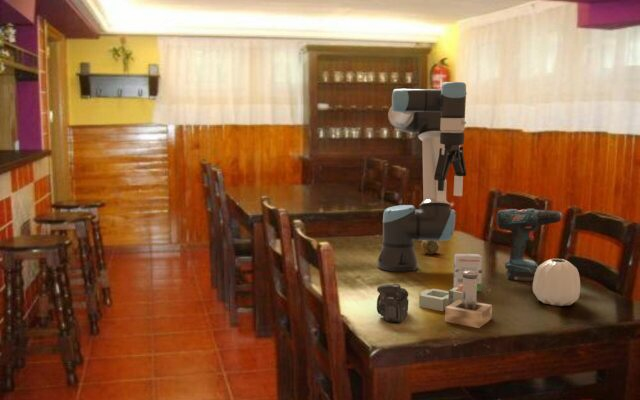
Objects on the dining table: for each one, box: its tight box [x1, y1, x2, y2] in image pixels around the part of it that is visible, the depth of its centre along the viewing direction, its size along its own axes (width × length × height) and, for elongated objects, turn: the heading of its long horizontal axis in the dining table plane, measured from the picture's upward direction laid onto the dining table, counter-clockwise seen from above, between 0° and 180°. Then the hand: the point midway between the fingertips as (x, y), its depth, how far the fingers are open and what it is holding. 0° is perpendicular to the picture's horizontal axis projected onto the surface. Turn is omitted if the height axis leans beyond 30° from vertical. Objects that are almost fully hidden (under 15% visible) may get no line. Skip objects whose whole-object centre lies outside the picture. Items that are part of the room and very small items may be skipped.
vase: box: [532, 258, 581, 307], centre depth 197 cm, size 14×14×13 cm
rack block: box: [444, 299, 493, 329], centre depth 180 cm, size 10×10×4 cm
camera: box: [376, 283, 410, 324], centre depth 182 cm, size 13×10×10 cm
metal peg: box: [462, 270, 478, 311], centre depth 180 cm, size 4×4×14 cm
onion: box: [420, 240, 440, 255], centre depth 266 cm, size 8×8×8 cm
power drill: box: [496, 208, 566, 282], centre depth 226 cm, size 9×23×25 cm, turn 78°
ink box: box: [453, 253, 483, 292], centre depth 211 cm, size 9×5×12 cm, turn 87°
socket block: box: [418, 286, 462, 312], centre depth 192 cm, size 16×10×6 cm, turn 56°
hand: (449, 198), depth 204 cm, fingers open, 13 cm apart
